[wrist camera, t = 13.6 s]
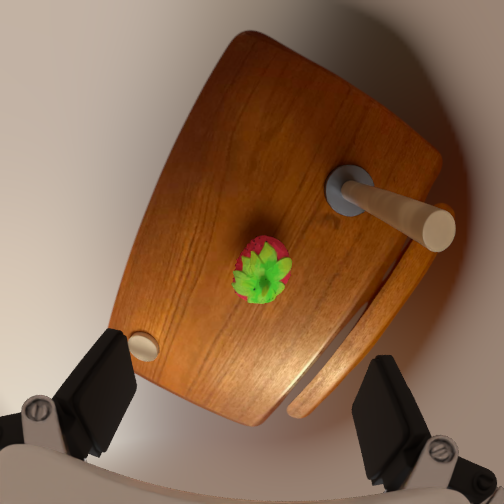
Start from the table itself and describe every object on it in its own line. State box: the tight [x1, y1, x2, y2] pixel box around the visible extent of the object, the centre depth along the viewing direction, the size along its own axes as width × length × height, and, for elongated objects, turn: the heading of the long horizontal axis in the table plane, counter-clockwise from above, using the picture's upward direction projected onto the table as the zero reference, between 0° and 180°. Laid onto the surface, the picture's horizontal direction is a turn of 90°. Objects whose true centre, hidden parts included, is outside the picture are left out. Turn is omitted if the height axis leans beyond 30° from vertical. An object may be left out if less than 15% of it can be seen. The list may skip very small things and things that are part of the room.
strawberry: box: [232, 235, 292, 304], centre depth 31 cm, size 6×7×10 cm
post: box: [324, 165, 455, 252], centre depth 23 cm, size 6×6×20 cm
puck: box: [128, 332, 159, 361], centre depth 41 cm, size 5×5×1 cm
